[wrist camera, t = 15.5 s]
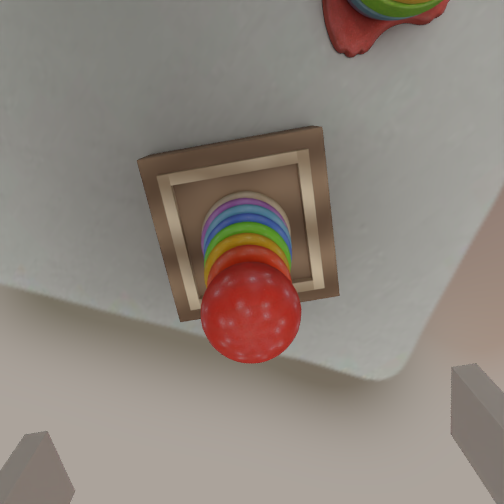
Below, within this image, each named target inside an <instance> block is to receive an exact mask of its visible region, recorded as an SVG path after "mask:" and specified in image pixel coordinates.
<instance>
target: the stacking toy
mask: <svg viewBox="0 0 504 504" xmlns="http://www.w3.org/2000/svg"><path fill="white" fill-rule="evenodd" d="M201 247H202V252H203V255H204V280H205V285H206V288H207V289H206V291H205V293H204V296H203V298H202V303H201V322H202V327H203V330H204V332H205V334H206V336H207V338H208V340H209V342H210V343H211V345H212V346H213V347H214V348H215V349H216V350H217V351H218V352H220V353H221V354H222V355H224V356H226V357H227V358H229V359H232V360H234V361H237V362H241V363H260V362H265V361H268V360H270V359H272V358H274V357H276V356H278V355H279V354H281V353H282V352H283V351H284V350H285V349H286V348H287V347H288V346H289V345H290V344H291V342H292V341H293V339H294V338H295V336H296V334H297V332H298V329H299V325H300V321H301V304H300V299H299V296H298V294H297V291H296V289H295V287H294V286H293V284H292V280H291V276H290V270H291V261H292V244H291V229H290V224H289V220H288V217H287V215H286V213H285V212H284V210H283V209H282V208H281V206H280V205H279V204H278V203H277V202H276V201H274V200H273V199H271V198H270V197H268V196H266V195H264V194H261V193H258V192H252V191H242V192H236V193H232V194H229V195H227V196H225V197H223V198H222V199H220V200H219V201H218V202H216V203H215V204H214V205H213V206H212V208H211V209H210V210H209V212H208V213H207V215H206V217H205V219H204V222H203V225H202V233H201Z"/></svg>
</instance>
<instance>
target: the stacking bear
mask: <svg viewBox="0 0 504 504" xmlns="http://www.w3.org/2000/svg"><path fill="white" fill-rule="evenodd" d="M449 1H450V0H322V2H323V13H324V19H325V24H326V28H327V31H328V34H329V37H330V40H331V42H332V44H333V46H334V48H335V50H336V51H337V52H338V53H344V54H345V55H346V56H347V57H354V56H355V55H356V54H364V53H365V52H367V51H368V50H369V49H370V48H371V46H372V45H373V43H374V42H375V41H376V39H377V38H378V37H379V36H380V35H381V34H382V33H383V32H384V31H386V30H387V29H389V28H390V27H392V26H395V25H398V24H402V23H412V24H417V25H424V24H427V23H430V22H431V21H432V20H433V19H434V18H437V17H439V16H440V15H442V13H443V12H444V11H445V8H446V6H447V3H448V2H449Z"/></svg>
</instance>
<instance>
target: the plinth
mask: <svg viewBox="0 0 504 504" xmlns="http://www.w3.org/2000/svg"><path fill="white" fill-rule="evenodd" d="M137 163H138V167H139V171H140V174H141V178H142V182H143V185H144V189H145V193H146V197H147V200H148V204H149V208H150V211H151V215H152V219H153V223H154V226H155V230H156V234H157V237H158V241H159V245H160V249H161V252H162V256H163V260H164V263H165V267H166V271H167V275H168V278H169V282H170V286H171V289H172V293H173V297H174V301H175V304H176V308H177V312H178V315H179V319H180V322H184V321H190V320H196V319H201V303H202V298H203V296H204V293H205V291H206V289H207V288H206V285H205V280H204V255H203V252H202V247H201V233H202V225H203V222H204V219H205V217H206V215H207V213H208V212H209V210H210V209H211V208H212V206H213V205H214V204H215V203H216V202H218V201H219V200H220V199H222V198H223V197H225V196H227V195H229V194H232V193H236V192H242V191H252V192H258V193H261V194H264V195H266V196H268V197H270V198H271V199H273V200H274V201H276V202H277V203H278V204H279V205H280V206H281V208H282V209H283V210H284V212H285V213H286V215H287V217H288V220H289V224H290V229H291V244H292V261H291V270H290V276H291V280H292V284H293V286H294V287H295V289H296V291H297V294H298V296H299V299H300V302H305V301H311V300H317V299H323V298H329V297H335V296H340V294H339V284H338V275H337V265H336V255H335V245H334V236H333V226H332V216H331V206H330V197H329V187H328V177H327V167H326V158H325V148H324V138H323V129H322V127H319V126H307V127H301V128H295V129H290V130H284V131H279V132H273V133H268V134H262V135H257V136H251V137H246V138H240V139H235V140H229V141H223V142H218V143H212V144H207V145H201V146H196V147H190V148H185V149H179V150H174V151H168V152H163V153H157V154H152V155H148V156H146V157H144V158H141V159H139V160H137Z"/></svg>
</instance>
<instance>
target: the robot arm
mask: <svg viewBox="0 0 504 504" xmlns="http://www.w3.org/2000/svg"><path fill="white" fill-rule="evenodd" d="M451 374H452V375H451V435H452V436H453V438H454V440H455V441H456V443H457V444H458V446H459V447H460V449H461V450H462V452H463V453H464V455H465V456H466V458H467V459H468V461H469V463H470V464H471V466H472V467H473V468H474V470H475V472H476V473H477V475H478V476H479V478H480V479H481V481H482V482H483V484H484V485H485V487H486V488H487V490H488V491H489V493H490V494H491V496H492V498H493V499H494V500H495V502H496V504H504V393H503V391H502V390H501V389H500V388H499V387H498V386H497V385H496V384H495V383H494V382H493V381H492V380H491V379H490V378H489V377H488V376H487V374H486V373H485V372H484V371H483V370H482V369H481V368H480V367H479V366H478V365H477V364H476V363H475V364H468V365H462V366H456V367H452V373H451ZM74 493H75V490H74V487H73V485H72V483H71V481H70V479H69V477H68V474H67V472H66V470H65V468H64V466H63V464H62V462H61V460H60V457H59V455H58V453H57V451H56V448H55V446H54V444H53V442H52V440H51V438H50V435H49V434H48V432H47V431H44V432H38V433H32V434H26V435H24V436H23V438H22V439H21V441H20V442H19V444H18V445H17V447H16V449H15V450H14V451H13V453H12V454H11V456H10V457H9V459H8V460H7V462H6V463H5V465H4V466H3V467H2V469H1V470H0V504H70V502H71V500H72V497H73V495H74Z"/></svg>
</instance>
